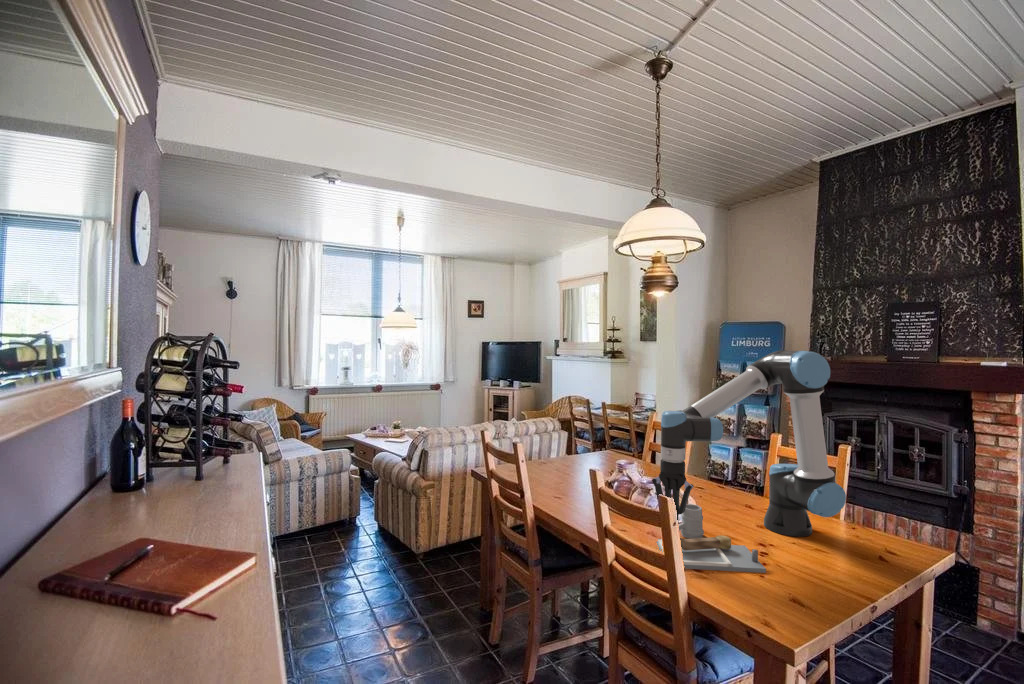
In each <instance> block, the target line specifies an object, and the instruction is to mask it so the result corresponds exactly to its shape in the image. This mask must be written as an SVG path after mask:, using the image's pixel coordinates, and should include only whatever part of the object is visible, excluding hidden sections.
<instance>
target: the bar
mask: <svg viewBox="0 0 1024 684" xmlns="http://www.w3.org/2000/svg"><path fill="white" fill-rule="evenodd" d="M680 540H681V547H682V549H683V550H684V551H685V550H700V549H715V548H722V549H730V548H731V545H732V538H730V537H729V536H726V535H716V536H715V537H714V536H713V537H703V538H694V539H689V538H682V539H681V538H680Z"/></svg>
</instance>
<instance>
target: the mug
mask: <svg viewBox="0 0 1024 684" xmlns="http://www.w3.org/2000/svg"><path fill="white" fill-rule="evenodd" d="M679 508H680V504H679ZM680 516H681V523H678V525H679V531H680V534H681V536H682V537H684V539H694V538H704V534H705V530H704V529H703V527H704V526H703V525H704V524H703V520H704V515H703V507H701V506H700V505H698V504H693V503H687V505H686V508H685V512H684V513H682V514H680Z"/></svg>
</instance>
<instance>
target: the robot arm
mask: <svg viewBox="0 0 1024 684" xmlns="http://www.w3.org/2000/svg"><path fill="white" fill-rule="evenodd" d="M830 378H831V367H830V365H829V362H828V360H827V359H826V358H825V357H824V356H823V355H821V354H820V353H818V352H815V351H810V350H809V351H808V350H787V349H786V350H777V351H774V352H770V353H768V354H766V355H765V356H762V357H760V358H759V359H758V360H756V361H754V362H752V363H751V364H749V365H747V366H746V368H745V371H744V372H742V373H741V374H739V375H737V376H735V377H734V378H733V379H730V380H729V381H728V382H726V383H725V384H723V385H722V386H720V387H719V388H716V389H715V390H714V391H712V392H710V393H709V394H707V395H705V396H704V397H702V398H701V399H699V400H698V401H696V402H695V403H692V405H689V406H688V407H686V408H685V409H683V410H666V411H663V412H662V414H661V418H660V419H661V421H660V422H661V423H660V433H661V434H660V458H661V459H660V463H659V464H660V465H659V467H660V468H659V469H660V471H659V474H658V476H657V477H654V478H652V479H651V483H652V484H653V485H654V488H655V494H656V499H657V500H658V495H659V494H662V495H663V496H664V497H665V496H667V497H670V498H671V499H672V500H673V499H674V502H675V505H676V510H677V520H678V521H679V515H681V514H682V513H684V512H685V508H686V505H687V504H688V501H689V497H690V493H691V492H692V490H693V489H694V488H695V487H694V484H693V483H689V481H687V478H686V477H687V476H686V462H685V460H686V445H687V442H709V443H711V442H719V441H720V440H721V439H723V437H724V425H723V423H722V420H720V419H719V418H717V416H718V415H720V414H722V413H724V412H725V411H726V410H728V409H730V408H731V407H733V406H735V405H736V404H738V403H739V402H741V401H742V400H744V399H745V398H748V397H749V396H750V395H752V394H754V393H755V392H757V391H758V390H766V389H767V388H770V387H771V386H774V385H779V384H780V385H781V384H782V392H783V394H785V395H786V396H787V397H788V398H789V405H790V414H791V421H792V429H793V437H794V438H793V439H794V443H795V444H794V446H795V454H796V461H797V464H795V463H773V464H771V465H770V467H769V473H768V478H769V481H768V482H769V486H768V487H769V491H768V492H769V499H768V501H769V505H768V507H767V510H766V512H765V514H764V517H763V526H764V527H765V528H766V529H767V530H769V531H771V532H774V533H777V534H780V535H785V536H789V537H800V538H801V537H809V536H811V535H812V534H813V525H812V522H811V519H810V517H809V513H808V512H810V513H811V514H813V515H816V516H819V517H822V518H831V517H834V516H836V515H838V514H839V513H840V512H841V511H842V509H843V508H844V506H845V505H846V502H847V501H846V500H847V495H846V491H845V489H844V488H843V487H841V486H842V485H840V484H839V483H837V481H836V475H835V472H834V470H832V469H831V468H830V467H829V464H828V454H827V448H826V447H827V446H826V439H825V431H824V430H825V429H824V423H823V415H822V407H821V398H820V396H821V395H822V393H824V392H825V385H827V383H828V380H830ZM661 483H662V484H661ZM662 485H663V486H664V492H663V488H662ZM682 487H684V491H683V494H682V497H681V501H680V492H681V488H682ZM679 505H680V508H679Z"/></svg>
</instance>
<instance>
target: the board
mask: <svg viewBox="0 0 1024 684" xmlns="http://www.w3.org/2000/svg"><path fill="white" fill-rule="evenodd" d="M662 539H663V538H662ZM662 539H661V538H658V539H657V541H655V544H656V543H657V545H658V547H659V550H660V551H661V549H662V552H663V546H662ZM659 550H658V551H659ZM682 553H683V561H684V566H685V569H686V570H707V571H725V572H741V573H758V574H759V573H761V574H762V573H764V574H765V573H767V568H766V566H764V565H763V564H762V563H761V562H760V561H759V550H758V549H751V550H750V549H749V548H748V547H747V546H746V545H739V544H731V548H730V549H722V548H715V549H700V550H685V551H684V550H683V549H682Z"/></svg>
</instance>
